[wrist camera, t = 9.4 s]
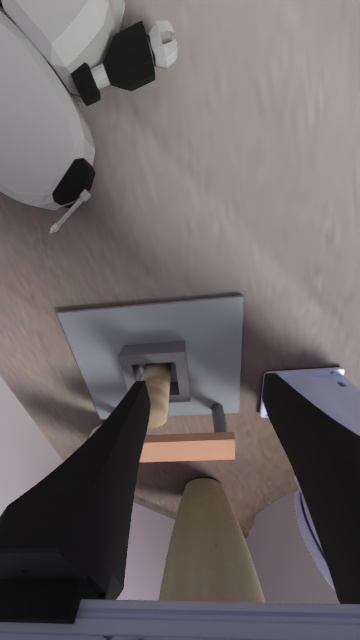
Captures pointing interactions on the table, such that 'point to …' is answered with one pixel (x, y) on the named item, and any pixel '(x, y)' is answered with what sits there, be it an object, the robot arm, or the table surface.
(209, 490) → the plant pot
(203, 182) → the table surface
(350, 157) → the table surface
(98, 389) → the socket station
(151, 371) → the peg
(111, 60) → the robot toy
